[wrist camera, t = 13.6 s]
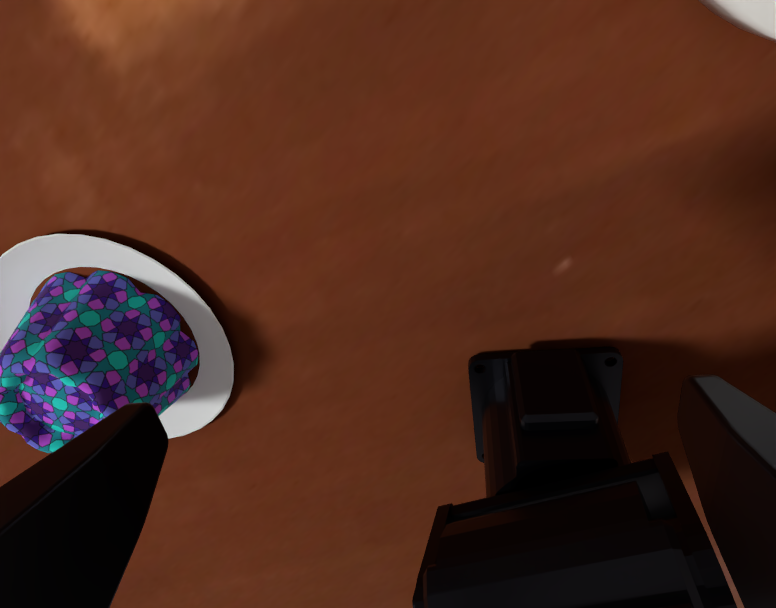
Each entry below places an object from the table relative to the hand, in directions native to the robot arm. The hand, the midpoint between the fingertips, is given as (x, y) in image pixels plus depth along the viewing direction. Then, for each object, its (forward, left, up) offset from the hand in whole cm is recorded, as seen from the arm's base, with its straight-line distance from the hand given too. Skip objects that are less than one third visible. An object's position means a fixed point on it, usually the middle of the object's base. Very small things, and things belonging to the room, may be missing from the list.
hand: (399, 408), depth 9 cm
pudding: (-7, +16, -14) cm, 22 cm away
